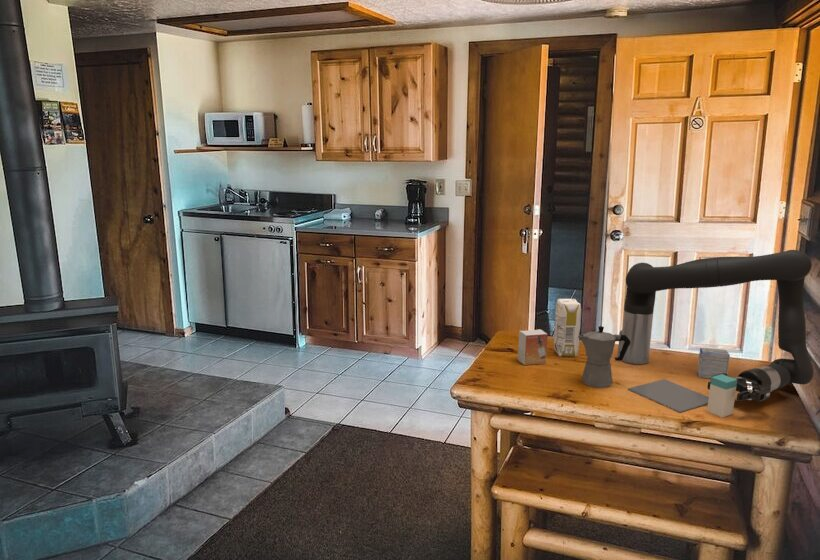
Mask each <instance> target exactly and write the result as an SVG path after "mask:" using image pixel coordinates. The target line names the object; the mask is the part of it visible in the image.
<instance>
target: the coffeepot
mask: <svg viewBox="0 0 820 560" xmlns="http://www.w3.org/2000/svg"><path fill="white" fill-rule="evenodd" d="M604 329H605V327H604V326H602V325H600V326H598V330H595V331H587V332H586V333H580V335H579V336H578V338H579V340H580V341H581V342H582V344H583V346H584V348H585V349H584V350H585V356H586V362H585V365H584V367H583V368H584V369H583V371H582V377H581V382H582V383H583V384H584V385H587V386H588V387H592V388H597V389H598V388H599V389H600V388H601V389H606V388H609V387H611V386H612V384H613V376H612V375H613V374H612V364H611V358H612V356H613V352H614V349H615V346H616V345H615V344H616V342H619V341H624V344H623V347H622V350H621V351H620V356H619V357H614V360H615V361H617V362H619V361H622V359H623V357H624V355H625V353H626V351H627V349H628V347H629V345H630V340H629V338H628V337H627V336H626V335H619V334H616V333H615V334H613V333H610V332H605V331H604Z"/></svg>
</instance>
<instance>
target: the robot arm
mask: <svg viewBox="0 0 820 560" xmlns="http://www.w3.org/2000/svg"><path fill="white" fill-rule="evenodd" d="M812 265H813V264H812V261H811V258H810V257H809V256H808V254H806V253H805V252H804V251H801V250H797V249H789V250H785V251H781V252H775V253H771V254H770V253H769V254H763V255H757V256H756V255H755V256H715V257H707V258H706V257H705V258H700V259H699V258H698V259H693V260H690V261H686V262H683V263H679V264H675V265H669V266H653V265H651V264H650V263H647V262H638V263H636V264H633V265H632V266H631V267H630V268H629V270H628V272H627V273H626V276H625V284H626V290H625V291H626V294H625V299H624V304H623V305H624V307H623V317H622V319H623V320H622V329H621V330H619V334H618V335H626V336H627V337H628V338H629V340H630V345H629V347H628V349H627V351H626V353H625V355H624V357H623V359H622V360H621V361H622V362H624V363H627V364H632V365H646V364H648V363H649V360H650V350H651V340H652V329H653V319H654V310H655V301H656V294H657V292H660V291H665V290H674V289H675V290H676V289H704V288H706V289H707V288H718V287H719V288H720V287H722V288H723V287H727V286H734V285H741V284H745V283H751V282H757V281H776V284H777V292H778V322H777V324H778V325H777V334H778V335H777V337H778V338H777V339H778V341H777V343H778V348H779V349H780V350H781V351H784V352H787V353H790V354H791V355H792V357H793V359H792V358H777V359H774V360H773V361H772V362H771V363H769V364H768V365H765V366H757V367H754V368H751V369H747V370H743V371H741V372H740V373H739V374H738V375H737V376H732V377H731V376H730V377H731V378H734V379H737V385H736V392H738V393H736V401H737V402H742V401H746V400H747V401H753V400H754V402H756V403H760V402H763V401H765V400H768V399H770V396H771V392H774V391H775V390H779V389H781V388H785V386H787V385H788V384H797V385H808V384H809V383H810V382H811V381H812V380H813V378H814V374H815V373H814V367H813V364H812V363H813V362H812V360H811V358H810V354H809V351H808V347H807V328H806V327H807V324H806V323H807V322H806V315H805V308H804V286H805V285H804V284H805V279H806V277H807V276H808V275H809V274H810V272H811V270H812V267H813V266H812ZM623 344H624V341H618V346H617V347H618V348H617V357H619V356H620V351H621V350H622V347H623ZM617 357H616V358H617ZM722 374H723V375H725V376H728V373H727V374H726V373H722ZM717 375H721V374H717ZM717 375H713V376H717ZM713 376H711V377H713ZM710 384H711V380H710V381H708V382H707V390H709V391H710Z"/></svg>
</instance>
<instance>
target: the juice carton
mask: <svg viewBox="0 0 820 560" xmlns="http://www.w3.org/2000/svg"><path fill="white" fill-rule="evenodd" d="M554 315H555V316H554V330H553V331H554V333H553V348H554V351H555V352H556V354H557V355H558V356H559V357H562V358H563V357H566V358H567V357H568V358H569V357H572V358H574V357H575V358H576V357H578V354H579V353H578V352H579V349H580V348H579V347H580V338H578V336H579V335H581V322H582V321H581V320H582V303H580V302H578V301H577V299H576V298H557V301H556V305H555V314H554Z"/></svg>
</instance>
